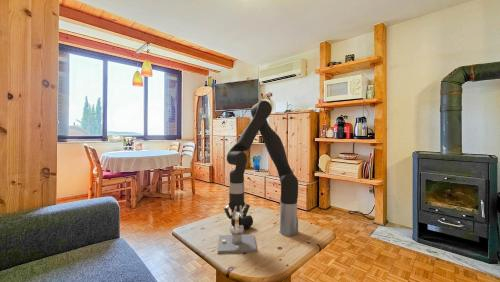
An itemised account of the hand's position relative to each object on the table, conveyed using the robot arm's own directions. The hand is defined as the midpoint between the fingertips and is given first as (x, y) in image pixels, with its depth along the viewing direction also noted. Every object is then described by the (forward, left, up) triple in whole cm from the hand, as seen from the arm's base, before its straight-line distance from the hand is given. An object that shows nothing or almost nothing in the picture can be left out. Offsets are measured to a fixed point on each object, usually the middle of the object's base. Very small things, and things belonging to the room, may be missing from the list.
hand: (236, 225), depth 112 cm
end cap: (-4, -18, -10) cm, 21 cm away
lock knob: (0, +1, -3) cm, 3 cm away
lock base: (0, +1, -9) cm, 9 cm away
